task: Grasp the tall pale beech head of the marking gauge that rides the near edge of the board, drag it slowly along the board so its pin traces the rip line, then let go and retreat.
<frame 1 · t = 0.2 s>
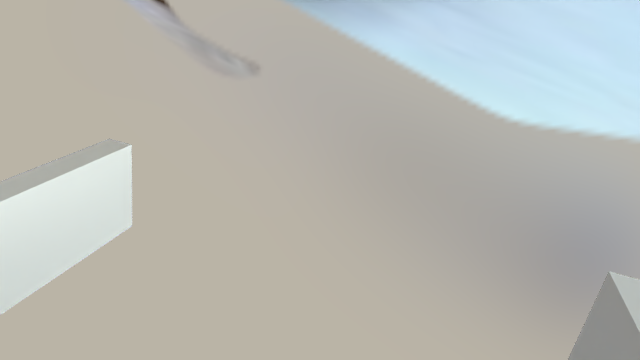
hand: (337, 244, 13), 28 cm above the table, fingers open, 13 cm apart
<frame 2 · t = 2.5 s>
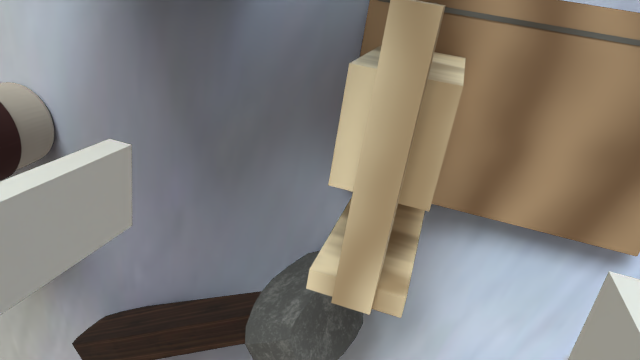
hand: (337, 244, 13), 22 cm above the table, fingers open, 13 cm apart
board: (507, 110, 32), on the table
hammer: (220, 297, 45), on the table
coffee cup: (26, 120, 44), on the table
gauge: (399, 136, 27), point 7 cm above the table, slide at 0.0 cm
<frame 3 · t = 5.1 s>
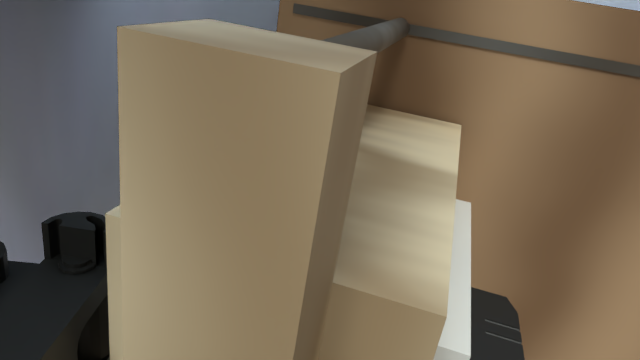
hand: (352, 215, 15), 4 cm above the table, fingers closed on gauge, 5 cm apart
board: (537, 210, 17), on the table
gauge: (320, 301, 13), point 7 cm above the table, slide at 0.0 cm, touching gripper
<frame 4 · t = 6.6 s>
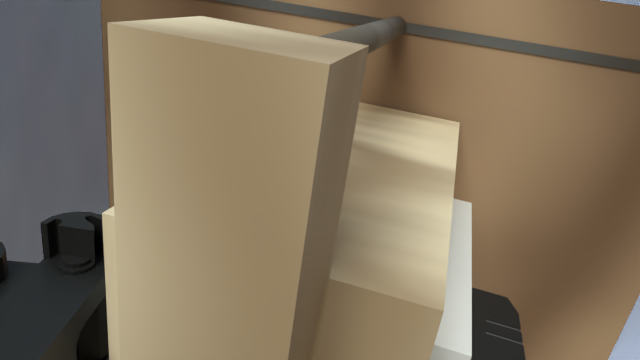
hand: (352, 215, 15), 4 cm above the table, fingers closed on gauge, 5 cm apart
board: (359, 165, 19), on the table
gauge: (320, 300, 13), point 7 cm above the table, slide at 6.7 cm, touching gripper
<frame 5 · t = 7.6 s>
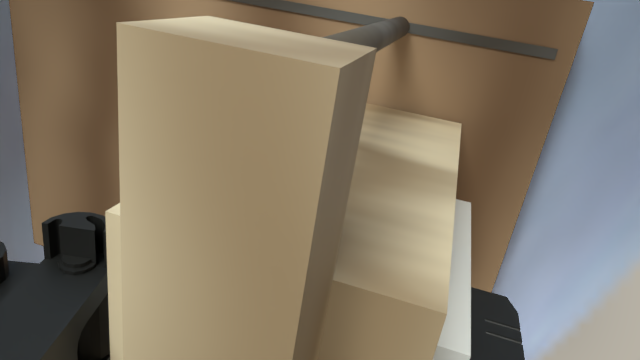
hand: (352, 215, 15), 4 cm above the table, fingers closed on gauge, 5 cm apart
board: (259, 140, 20), on the table
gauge: (320, 300, 13), point 7 cm above the table, slide at 11.0 cm, touching gripper
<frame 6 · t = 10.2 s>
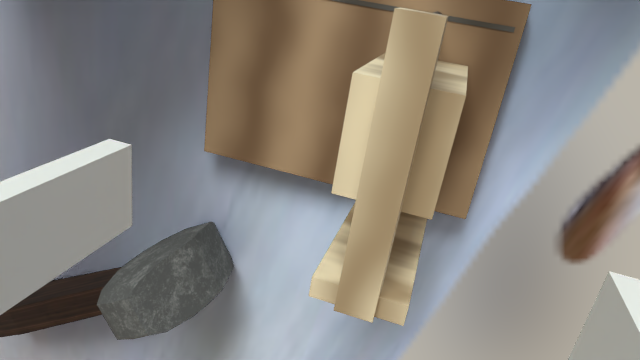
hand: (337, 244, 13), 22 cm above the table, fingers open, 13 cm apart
board: (350, 84, 34), on the table
hammer: (116, 272, 48), on the table
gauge: (402, 144, 27), point 7 cm above the table, slide at 11.0 cm
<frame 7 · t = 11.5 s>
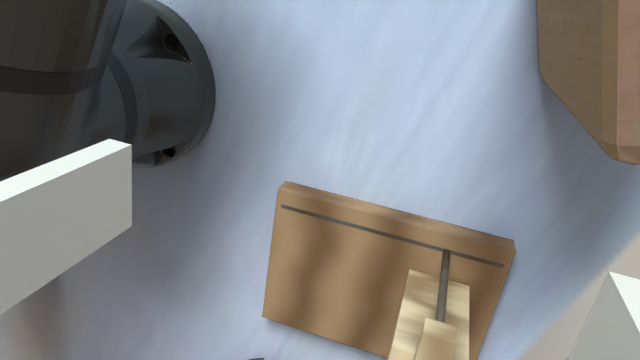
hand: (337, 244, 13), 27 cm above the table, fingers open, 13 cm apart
board: (378, 276, 44), on the table
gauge: (421, 356, 37), point 7 cm above the table, slide at 11.0 cm
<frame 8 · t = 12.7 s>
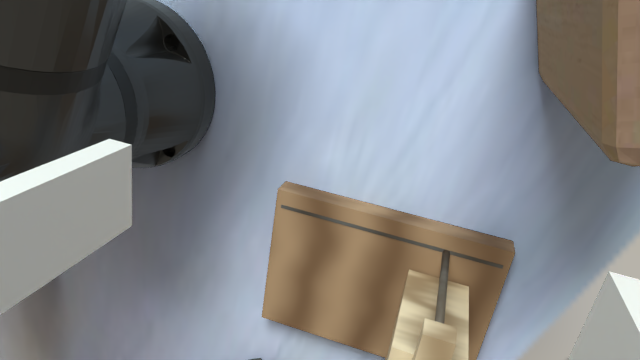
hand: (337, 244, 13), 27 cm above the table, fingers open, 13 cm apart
board: (377, 276, 44), on the table
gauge: (421, 356, 37), point 7 cm above the table, slide at 11.0 cm
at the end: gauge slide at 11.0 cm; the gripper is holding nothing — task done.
